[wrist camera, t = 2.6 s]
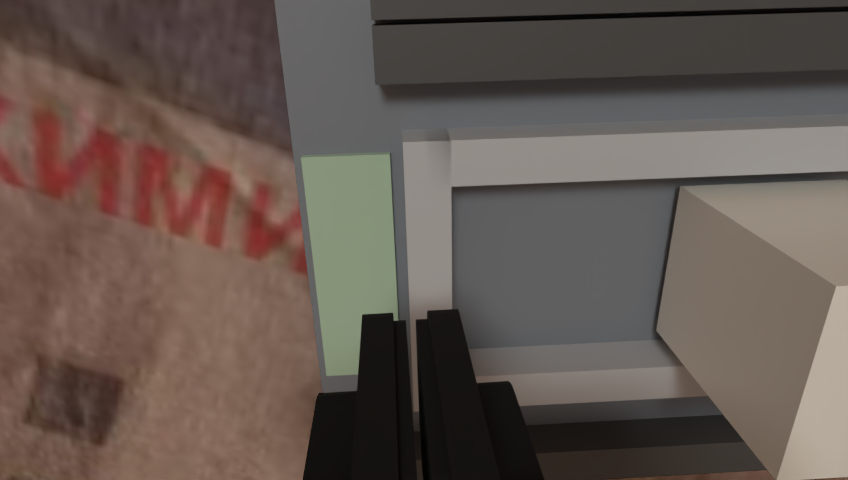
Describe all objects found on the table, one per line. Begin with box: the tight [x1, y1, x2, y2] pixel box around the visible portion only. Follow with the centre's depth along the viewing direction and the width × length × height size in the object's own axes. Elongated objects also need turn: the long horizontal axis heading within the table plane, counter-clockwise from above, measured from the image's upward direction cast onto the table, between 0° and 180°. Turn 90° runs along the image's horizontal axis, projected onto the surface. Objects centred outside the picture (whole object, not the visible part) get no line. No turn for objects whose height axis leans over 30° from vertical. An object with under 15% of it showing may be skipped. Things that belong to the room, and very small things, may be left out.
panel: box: [274, 0, 848, 480], centre depth 14 cm, size 22×14×3 cm, turn 91°
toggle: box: [656, 180, 848, 480], centre depth 11 cm, size 4×4×5 cm
